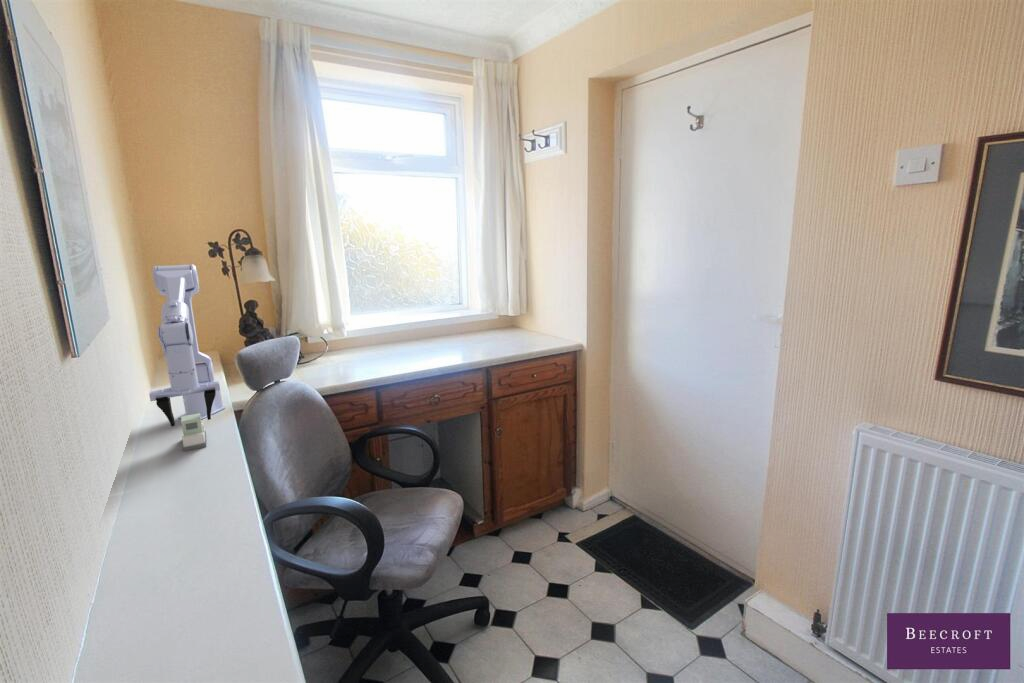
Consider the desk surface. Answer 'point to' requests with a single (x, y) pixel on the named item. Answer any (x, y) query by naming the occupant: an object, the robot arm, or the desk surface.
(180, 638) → the desk surface
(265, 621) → the desk surface
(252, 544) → the desk surface
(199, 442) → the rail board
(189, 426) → the sage module
